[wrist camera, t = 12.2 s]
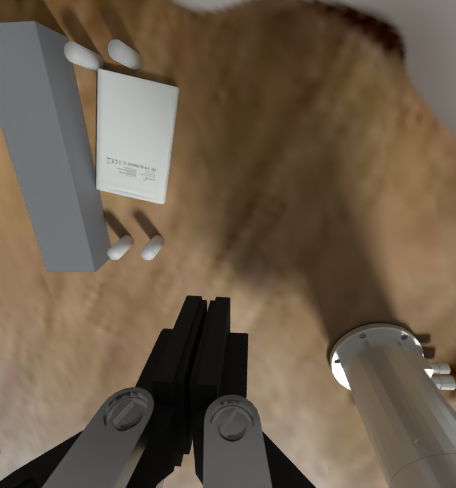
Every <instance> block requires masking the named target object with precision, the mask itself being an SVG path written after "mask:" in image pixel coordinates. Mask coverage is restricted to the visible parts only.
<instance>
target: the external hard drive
mask: <svg viewBox="0 0 456 488" xmlns="http://www.w3.org/2000/svg"><path fill="white" fill-rule="evenodd" d="M178 94H179V88H178V87H175V86H171V85H167V84H162V83H158V82H154V81H150V80H146V79H141V78H137V77H133V76H129V75H125V74H120V73H116V72H112V71H108V70H103V69H99V68H98V94H97V162H96V189H98V190H101V191H106V192H110V193H115V194H119V195H124V196H128V197H132V198H137V199H141V200H145V201H150V202H154V203H159V204H164V203H165V198H166V190H167V183H168V175H169V167H170V159H171V151H172V143H173V135H174V127H175V119H176V111H177V102H178Z"/></svg>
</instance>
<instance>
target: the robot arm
mask: <svg viewBox="0 0 456 488" xmlns="http://www.w3.org/2000/svg"><path fill="white" fill-rule="evenodd" d="M247 359H248V334H247V333H230V298H228V297H216V299H215V301H213V300H211V301H210V304H209V308H208V311H207V300H202V297H201V296H187V297H186V299H185V301H184V304H183V306H182V309H181V311H180V314H179V316H178V318H177V321H176V323H175V326H174V328H173V329H163V330H162V331H161V333H160V335H159V337H158V339H157V341H156V343H155V345H154V348H153V350H152V352H151V354H150V356H149V358H148V360H147V363H146V365H145V367H144V369H143V371H142V373H141V375H140V377H139V380H138V382H137V384H136V386H135V387H130V388H125V389H122V390H120V391H118V392H116V393H114V394H113V395H112V396H110V397H109V398H108V399H107V400H106V401H105V402H104V403H103V404H102V406H101V407H100V408H99V410H98V411H97V413H96V414H95V415H94V417H93V418H92V419H91V421H90V422H89V424H88V425H87V426H86V428H85V429H84V430H83V431H81V432H79V433H78V434H76V435H74V436H73V437H71V438H69V439H68V440H66V441H64V442H63V443H61V444H59V445H58V446H56V447H54V448H53V449H51V450H49V451H47V452H46V453H44V454H42V455H41V456H39V457H37V458H36V459H34V460H32V461H31V462H29V463H27V464H26V465H24V466H22V467H21V468H19V469H17V470H16V471H14V472H12V473H11V474H10V475H8V476H7V477H5V478H4V479H3V480H1V481H0V488H162V486H163V482H164V479H165V478H166V477H167V476H168V475H170V474H171V473H172V472H173V471H174V467H175V466H181V463H182V459H183V454H189V453H190V450H191V445H192V440H193V448H194V457H195V472H196V475H197V477H198V478H199V480H200V481H201V483H202V484H203V488H316V487H315V486H314V485H313V484H312V483H311V482H310V481H309V480H308V479H307V478H306V477H305V476H304V475H303V474H302V473H301V471H300V470H299V469H298V468H297V467H296V466H295V465H294V464H293V463H292V462H291V461H290V460H289V459H288V458H287V457H286V456H285V455H284V454H283V452H282V451H281V450H280V449H279V448H278V447H277V446H276V445H275V444H274V443H273V442H272V441H271V440H270V439H269V438H268V437H267V436H266V434H265V433H264V432H263V431H262V427H261V422H260V417H259V414H258V411H257V409H256V408H255V406H254V405H253V403H252V402H250V401H249V400H248V399H246V397H247ZM330 367H331V370H332V373H333V375H334V377H335V378H336V380H337V381H338V382H339V383H340V384H342V385H343V386H344V387H346V388H348V389H350V390H351V392H352V395H353V397H354V400H355V402H356V405H357V407H358V410H359V412H360V415H361V418H362V420H363V423H364V425H365V428H366V430H367V433H368V435H369V438H370V441H371V443H372V446H373V448H374V451H375V453H376V456H377V458H378V461H379V463H380V466H381V469H382V471H383V474H384V476H385V479H386V481H387V484H388V486H389V488H456V412H455V410H454V409H453V408H452V406H451V405H450V404H449V402H448V401H447V400H446V398H445V397H444V395H443V394H442V393H441V391H440V390H454V389H455V388H456V384H455V380H454V379H453V377H452V376H451V375H447V374H449V373H450V367H449V365H448V364H447V363H430V362H429V361H427V360H426V359H425V358H424V354H423V349H422V346H421V344H420V343H419V341H418V340H417V339H416V337H415V336H414V335H413V334H412V333H411V332H409V331H408V330H406V329H404V328H402V327H400V326H397V325H392V324H386V323H376V324H368V325H365V326H361V327H358V328H356V329H354V330H351V331H350V332H348V333H347V334H345V335H344V336H343V337H341V338H340V339H339V340H338V341H337V343H336V344H335V345H334V347H333V349H332V351H331V354H330ZM433 373H440V374H434V375H432V374H433Z"/></svg>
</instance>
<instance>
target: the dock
mask: <svg viewBox="0 0 456 488" xmlns="http://www.w3.org/2000/svg"><path fill="white" fill-rule="evenodd" d="M108 53H109V55H110V57H111V58H112V59H113V60H115V61H117V62H119V63H121V64H123V65H125V66H127V67H129V68H131V69H132V70H138V69H140V67H141V66H142V58H141V56H140V54H139V53H137V52H136V51H134V50H133V49H131V48H130V47H129V46H127V45H126V44H124V43H123V42H121V41H120V40H117V39H114V40H111V41H110V43H109V44H108ZM73 63H75V64H77V65H80V66H83V67H85V68H88V69H91V70H93V71H96V72H98V68H99V69H103V67H104V61H103V59H102V57H101V56H100V55H99V54H97V53H95V52H93V51H91V50H89V49H87V48H85V47H83V46H81V45H79V44H77V43H75V42H72V41H70V42H68V39H67V37H65V36H63V35H62V34H60V33H58V32H56V31H54V30H52V29H50V28H48V27H46V26H44V25H42V24H40V23H38V22H36V21H25V22H7V23H0V125H1V129H2V132H3V135H4V138H5V141H6V144H7V147H8V151H9V154H10V157H11V160H12V163H13V166H14V169H15V172H16V176H17V179H18V182H19V185H20V188H21V191H22V194H23V198H24V201H25V204H26V207H27V210H28V213H29V216H30V219H31V223H32V226H33V229H34V232H35V235H36V238H37V241H38V245H39V248H40V251H41V254H42V257H43V260H44V263H45V266H46V270H47V271H50V272H96V271H97V270H98V269H99V268H100V267H101V266H102V265H103V264H104V263H105V262H107V261H108V260H109V259H110V258H111V259H113V260H118V259H119V258H120V257H121V256H122V255H123V254H124V253H125V252H126V251H127V250H128V249H129V248H130V247H131V246H132V245H133V244H134V239H133V238H132V237H131V236H130V235H124V236H123V237H122V238H121V239H120V240H118V241H117V242H116V243H115V244H114V245H113V246H110V241H109V236H108V231H107V227H106V222H105V217H104V212H103V207H102V202H101V198H100V193H99V190H98V189H96V173H95V169H94V164H93V159H92V154H91V149H90V145H89V140H88V135H87V130H86V125H85V120H84V116H83V111H82V106H81V101H80V96H79V92H78V87H77V82H76V77H75V72H74V67H73ZM163 244H164V239H163V237H162V236H160V235H155V236H154V237H153V238H152V239H151V240H150V241H149V242H148V243H147V244H146V246H145V247H144V248H143V249H142V250H141V256H142V257H143V258H144V259H145V260H152V259H153V258H154V257H155V255H156V254H157V252H158V251H159V250H160V248H161V247H162V246H163Z"/></svg>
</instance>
